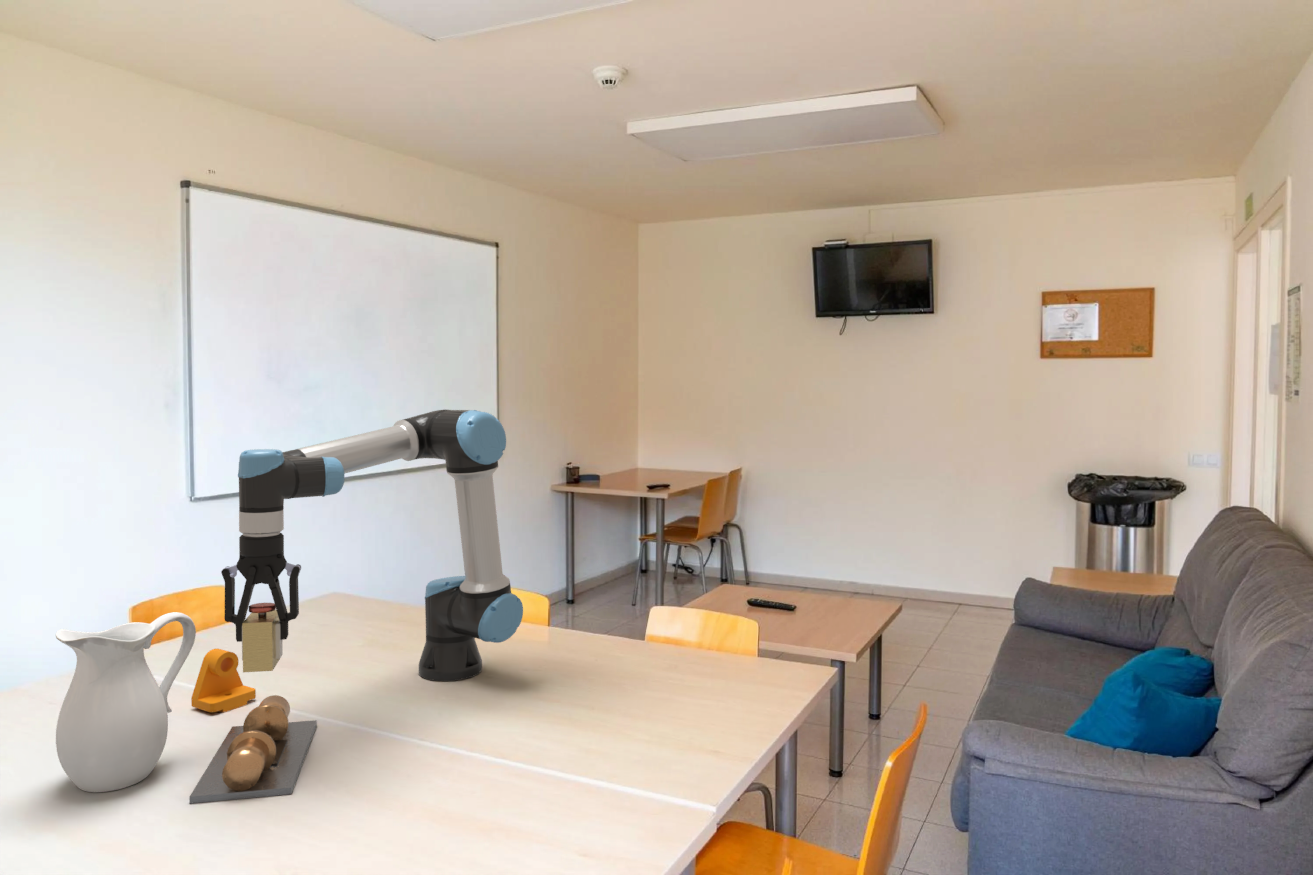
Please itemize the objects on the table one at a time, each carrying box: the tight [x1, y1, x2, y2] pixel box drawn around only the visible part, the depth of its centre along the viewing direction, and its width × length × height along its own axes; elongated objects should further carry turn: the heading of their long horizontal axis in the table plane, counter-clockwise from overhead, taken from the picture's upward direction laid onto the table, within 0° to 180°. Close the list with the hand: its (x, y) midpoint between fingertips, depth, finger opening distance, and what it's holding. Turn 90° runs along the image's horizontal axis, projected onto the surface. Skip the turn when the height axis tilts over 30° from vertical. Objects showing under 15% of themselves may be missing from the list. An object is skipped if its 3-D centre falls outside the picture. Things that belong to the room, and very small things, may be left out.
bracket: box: [191, 648, 257, 714], centre depth 193 cm, size 11×7×12 cm, turn 149°
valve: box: [242, 602, 281, 673], centre depth 165 cm, size 5×9×11 cm, turn 13°
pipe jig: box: [188, 694, 318, 804], centre depth 166 cm, size 31×16×8 cm, turn 13°
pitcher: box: [55, 611, 197, 793], centre depth 160 cm, size 24×17×28 cm
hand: (262, 657), depth 165 cm, fingers closed on valve, 5 cm apart
